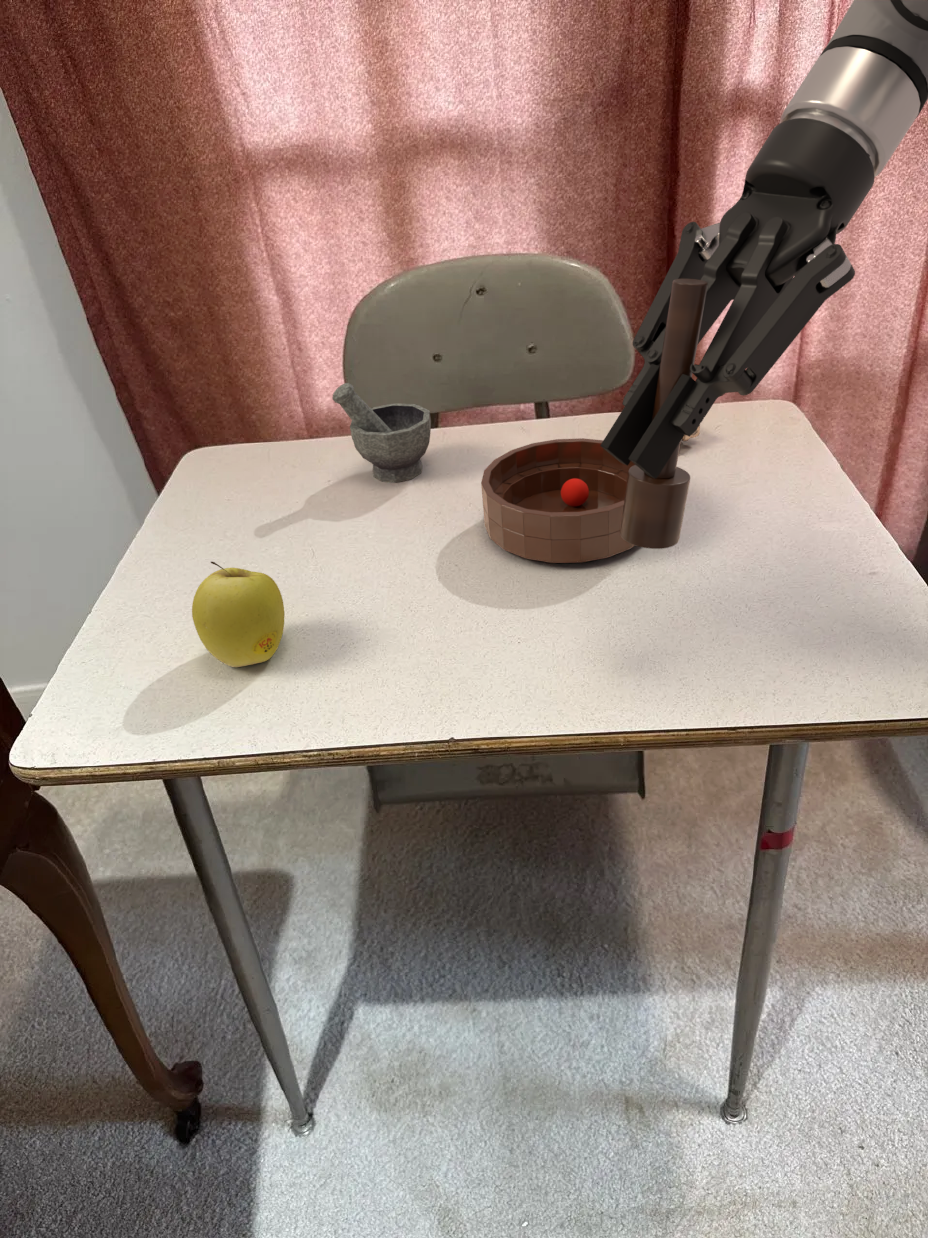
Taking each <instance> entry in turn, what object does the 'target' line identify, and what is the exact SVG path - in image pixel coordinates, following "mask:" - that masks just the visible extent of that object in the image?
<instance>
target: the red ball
mask: <svg viewBox="0 0 928 1238" xmlns="http://www.w3.org/2000/svg"><path fill="white" fill-rule="evenodd" d="M588 495H589V489H588V486H587V484H586V483H585V482H584V481H582V480H580V479H576V478H574V479H570V480H568V481H566V482H565V483H564V484H563V486H562V488H561V497H562V499H563V501H564V502H565V503H566V504H567V505H569V506H573V507H576V506H580V505H582V504H583V503H584V502H585V501H586V500H587V498H588Z"/></svg>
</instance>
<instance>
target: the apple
mask: <svg viewBox="0 0 928 1238" xmlns="http://www.w3.org/2000/svg"><path fill="white" fill-rule="evenodd" d="M210 564H212V565H215V566H217V567H218V568H220V569H219V570H216V571H214V572H212V573H210V574H208V576H207V577H205V578H204V579H203V580H202V582H200V584H199V585H198V587H197V589H196V591H195V594H194V596H193V600H192V603H191V604H192V605H191V617H192V621H193V624H194V627H195V630H196V633H197V636H198V637H199V639H200V641H201V643H202V645H203V646H204V648H205V649H206V650H207V651H208V652H209V653H210V654H211V655H212V657H214V659H216V660H218V661H220V663H221V662H222V663H223V664H225V665H226V666H227V667H231V668H240V667H246V666H253V665H256V664H260V663H264V662H266V661H269V660H271V658H272V657H273V656H274V654H275V652H276V651H277V650H278V648H279V646H280V643H281V640H282V637H283V633H284V629H285V616H286V615H285V603H284V599H283V596H282V592H281V590H280V588H279V586H278V584H277V583H276V581H275V580H274V579H273V578H272V577H271V576H270V575H268V574H266V573H263V572H260V571H252V570H248V569H246V568H245V569H244V568H239V567H226V568H225V567H222V566H220V565H219V564H218V563H217V562H215V561H210Z"/></svg>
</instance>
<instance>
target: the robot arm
mask: <svg viewBox="0 0 928 1238" xmlns="http://www.w3.org/2000/svg"><path fill="white" fill-rule="evenodd" d="M927 102H928V0H853V1H852V3H851V5H850V6H849V8H848V9H847V11H846V13H845V15H844V16H843V18H842V20H841V21H840V23H839V24H838V25H837V28H836V30H835V31H834V33H833V35H832V36H831V38H830V40H829V41H828V43H827V44H826V46H825V47H824V49H823V50H822V51H821V53H820V55H819V56H818V57H817V59H816V61H815V62H814V63H813V65H812V67H811V69H810V70H809V71H808V73H807V74H806V76H805V78H804V80H803V81H802V82H801V84H800V85H799V87H798V88H797V90H796V92H795V93H794V94H793V96H792V98H791V99H790V100H789V102H788V104H787V105H786V107H785V108H784V110H783V112H782V114H781V116H780V118H779V123H778V124H777V125H776V126H774V128H773V129H772V130H771V132H770V133H769V135H768V137H767V138H766V140H765V141H764V143H763V144H762V146H761V148H760V149H759V151H758V153H756V155H755V157H754V159H753V161H752V162H751V164H750V165H749V167H748V169H747V171H746V173H745V178H744V184H743V189H742V193H741V196H740V198H739V199H738V201H736V202H735V204H734V205H732V206H731V208H729V209H727V210H726V212H725V213H724V214H723V215H722V217H721V219H720V221H719V222H716V223H713V224H711V225H707V226H705V227H702V228H701V227H700V226H699V224H698V223H697V222H696V221H690V222H689V223H687V224H686V225H685V226H684V227H683V229H682V231H681V235H680V240H679V245H678V250H677V253H676V255H675V257H674V259H673V262H672V263H671V265H670V266H669V269H668V271H667V272H666V275H665V277H664V279H663V281H662V283H661V284H660V286H659V289H658V290H657V293H656V295H655V296H654V299H653V301H652V302H651V305H650V306H649V308H648V311H647V312H646V314H645V316H644V318H643V321H642V322H641V324H640V325H639V328H638V330H637V332H636V334H635V336H634V338H633V340H632V347H633V348H634V349H635V350H636V351H637V352H638V353H639V354H640V355H641V356H642V358H643V359H644V364H643V366H642V368H641V370H640V371H639V373H638V375H636V377H635V379H634V381H633V383H632V385H631V386H630V387H629V390H627V392H626V393H625V395H624V397H623V400H622V406H624V407H623V409H622V410H621V412H620V413H619V415H618V417H617V418H616V420H615V421H614V423H613V424H612V425H611V427H610V429H609V430H608V432H607V434H606V435H605V437H604V439H603V442H602V443H601V445H600V446H601V447H602V448H604V449H605V450H606V451H607V452H608V453H610V454H611V455H612V456H613V457H614V458H616V459H617V460H618V461H619V462H621V463H623V464H625V465H627V466H628V464H629V463H630V461H632V462H633V463H634V464H635V465H636V466H638V467H639V468H640V469H641V470H642V471H644V472H645V473H646V474H647V475H648V476H650V477H653V478H655V479H656V478H657V477H658V475H659V474H660V472H661V471H662V469H663V468H664V466H665V465H666V463H667V461H668V460H669V458H670V457H671V455H672V454H673V452H674V451H675V449H676V447H677V446H678V444H679V443H680V441H681V442H682V438H683V437H684V435H687V436H689V437H690V436H691V435H692V434H693V433H694V432H695V431H696V430H697V428H698V427H699V425H700V426H701V423H703V421H704V419H705V417H706V416H707V415H708V413H709V411H710V410H711V408H712V407H713V405H714V404H715V402H716V401H717V399H718V398H720V397H722V396H725V394H730V393H738V394H739V395H740V396H748V395H750V394H752V393H753V392H754V390H755V389H756V388H757V387H758V386H759V384H760V383H761V382H762V381H763V379H765V377H766V376H767V374H768V373H769V372H770V370H771V369H772V368H773V367H774V365H776V363H777V362H778V361H779V360H780V358H781V357H782V356H783V354H784V353H785V352H786V350H787V349H788V348H789V347H790V345H791V344H792V343H793V342H794V341H795V339H796V338H797V337H798V335H799V334H800V333H801V331H803V329H805V327H806V325H808V323H809V321H810V320H812V319H813V317H814V315H815V314H816V313H817V312H818V311H819V309H820V308H821V307H822V306H823V304H824V303H825V301H826V300H828V299H829V298H830V297H832V296H833V295H834V294H835V293H837V292H838V291H839V290H841V289H842V288H843V287H845V286H846V285H847V284H849V283H850V282H851V281H852V280H853V279H854V277H855V276H856V271H855V268H854V267H853V264H852V263H851V260H850V259H849V257H848V255H847V254H846V253H845V250H844V248H843V246H842V245H840V244H839V243H836V241H837V235H838V234H841V232H843V231H844V230H845V229H846V228H847V227H848V225H849V224H850V222H851V220H852V219H853V217H854V215H855V213H857V211H858V209H859V208H860V206H862V203H863V202H864V200H865V199H866V197H867V196H868V194H869V193H870V191H871V190H872V188H873V186H874V183H875V179H876V177H877V176H879V175H880V174H881V173H882V171H883V170H884V168H885V167H886V165H887V164H888V162H889V161H890V159H891V158H892V156H893V155H894V153H895V152H896V150H897V148H898V147H899V145H900V144H901V142H902V141H903V140H904V138H905V136H906V135H907V133H908V131H909V130H910V128H911V127H912V126H913V123H914V122H915V120H916V119H917V118H918V117H919V116H920V114H921V111H922V110H923V109H924V106H925V105H926V103H927ZM675 279H697V280H702V281H705V282H707V283H708V287H707V293H706V298H705V304H704V310H703V316H702V321H701V327H700V333H699V339H698V345H699V344H700V343H701V341H702V340H703V339H704V337H705V336H706V334H707V333H708V332H709V331H710V329H711V328H712V326H713V325H714V324H715V322H716V321H717V320H718V319H719V317H720V316H721V314H722V313H723V312H724V310H725V309H726V308H727V307H728V306H729V304H730V302H731V304H730V306H729V308H728V309H727V312H726V313H725V315H724V317H723V319H722V321H721V323H720V325H719V327H718V328H717V330H716V332H715V334H714V336H713V337H712V340H711V342H710V343H709V345H708V347H707V349H706V351H705V353H704V354H703V357H702V358H701V360H700V362H699V364H697V363H694V365H693V364H691V366H690V370H691V372H692V373H693V374H692V375H694V376H695V379H694V378H693V376H692V377H690V376H687V375H684V374H682V375H681V377H680V378H679V380H678V382H677V383H676V385H675V386H674V388H673V389H672V391H671V392H670V394H669V396H668V397H667V399H666V400H665V402H664V403H663V405H662V407H661V408H660V410H659V411H658V413H657V414H656V416H655V418H654V419H653V421H652V416H653V409H654V403H655V396H656V389H657V383H658V376H659V370H660V363H661V357H662V350H663V343H664V337H665V330H666V324H667V317H668V311H669V304H670V297H671V291H672V284H673V281H674V280H675ZM680 444H681V443H680Z"/></svg>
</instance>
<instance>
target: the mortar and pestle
mask: <svg viewBox="0 0 928 1238" xmlns="http://www.w3.org/2000/svg"><path fill="white" fill-rule="evenodd" d="M332 400H333V402H334V403H336V404H338V405H339V406H340V407H341V409H343V411H344V412H345V414H346V415H347V416H348V417H349V419H350V420H351V421H350V425H349V430H350V435H351V440H352V442H353V446H354V448H355V450H356V451H357V452H358V454H359V455H360V456H361V457H362V459H364V460H365V461H367V462H368V463H370V464H372V475H373V478H376V479H377V480H378V481H380V482H382V483H383V482H384V483H400V482H405V481H410V480H412V479H414V478H416V477H417V476H419V475H420V474H422V471H423V464H422V457H424V456H425V454H426V452H427V451H428V447H429V444H430V440H431V433H432V432H431V429H432V428H431V427H432V418H431V411H430V409H427V408H425V407H424V406H421V405H419V404H416V403H395V402H394V403H388V404H384V405H378V406H374V407H370V405H368V404H367V403H366V401H365V400H363V398H362V397H360V395H359V394H358V393H357V392H356V391H355V387H354V385H353V384H352V383H350V382H344V383H342V384H341V385H340V386H338V387H337V388H336V389H335V390H334V392H333V394H332Z"/></svg>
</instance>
